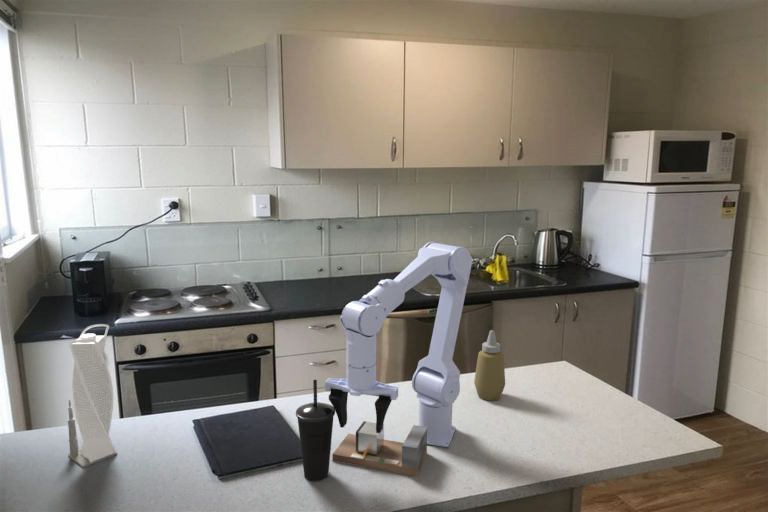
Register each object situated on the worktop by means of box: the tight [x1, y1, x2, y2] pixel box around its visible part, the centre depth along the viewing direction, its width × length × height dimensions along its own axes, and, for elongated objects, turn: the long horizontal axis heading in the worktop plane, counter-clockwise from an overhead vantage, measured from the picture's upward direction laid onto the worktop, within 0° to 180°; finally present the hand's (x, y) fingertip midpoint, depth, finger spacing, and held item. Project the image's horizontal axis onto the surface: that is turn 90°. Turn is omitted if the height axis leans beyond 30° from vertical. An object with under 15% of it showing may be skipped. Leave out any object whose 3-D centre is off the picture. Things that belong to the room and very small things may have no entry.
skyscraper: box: [67, 323, 118, 469], centre depth 119 cm, size 8×8×28 cm
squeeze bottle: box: [473, 329, 506, 401], centre depth 151 cm, size 8×8×18 cm
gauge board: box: [331, 424, 428, 477], centre depth 121 cm, size 9×18×6 cm, turn 73°
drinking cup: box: [295, 379, 336, 482], centre depth 113 cm, size 8×8×20 cm
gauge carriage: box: [355, 420, 385, 457], centre depth 121 cm, size 7×5×4 cm, turn 163°
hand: (361, 427), depth 114 cm, fingers open, 7 cm apart
